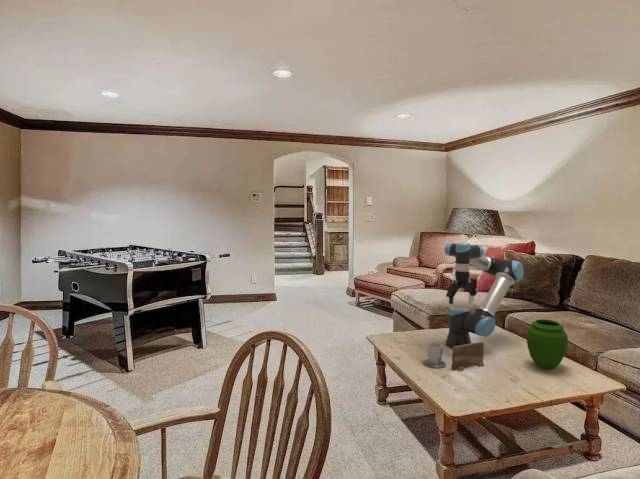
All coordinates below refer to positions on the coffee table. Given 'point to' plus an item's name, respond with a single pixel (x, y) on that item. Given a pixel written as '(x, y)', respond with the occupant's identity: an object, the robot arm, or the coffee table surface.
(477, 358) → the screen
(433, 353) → the cup
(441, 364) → the coaster
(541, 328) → the vase
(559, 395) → the coffee table surface
